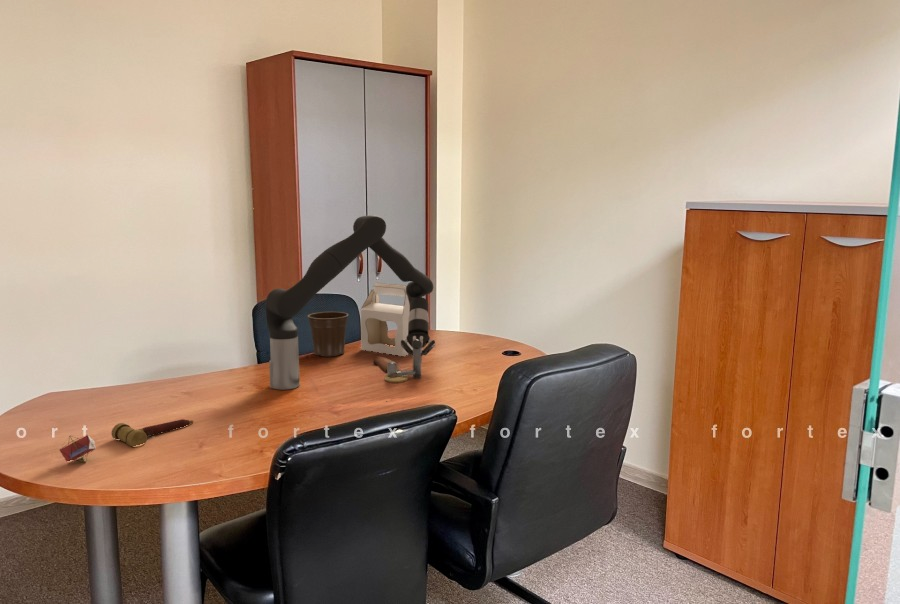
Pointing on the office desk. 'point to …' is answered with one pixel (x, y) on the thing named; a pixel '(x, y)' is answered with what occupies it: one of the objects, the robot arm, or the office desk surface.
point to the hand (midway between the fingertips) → (417, 364)
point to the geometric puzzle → (78, 448)
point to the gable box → (384, 320)
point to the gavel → (144, 431)
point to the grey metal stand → (402, 376)
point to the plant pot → (328, 332)
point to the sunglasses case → (383, 363)
